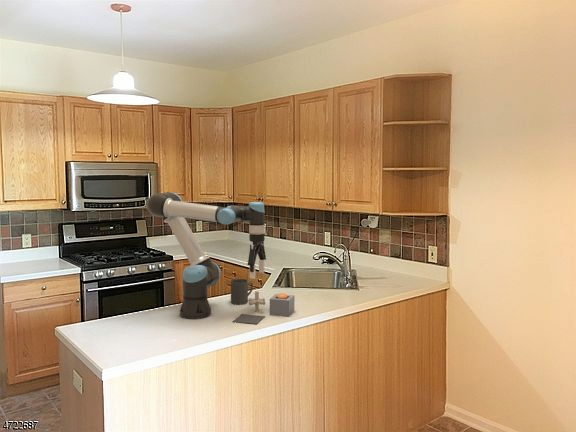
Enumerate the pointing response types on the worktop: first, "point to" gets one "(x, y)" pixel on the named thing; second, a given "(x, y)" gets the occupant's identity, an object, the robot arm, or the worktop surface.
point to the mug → (240, 291)
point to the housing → (282, 305)
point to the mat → (248, 319)
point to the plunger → (281, 296)
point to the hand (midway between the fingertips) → (257, 275)
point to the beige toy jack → (256, 301)
